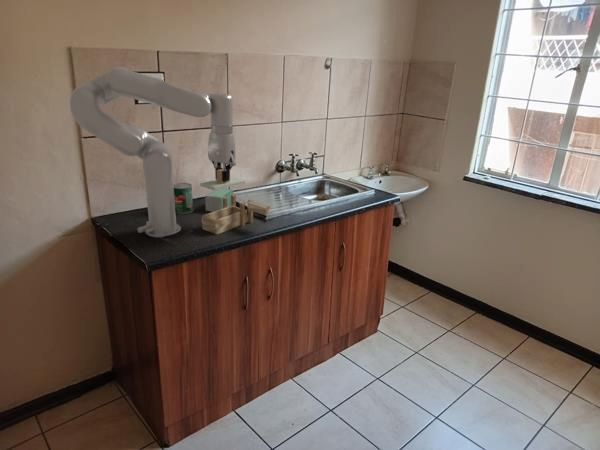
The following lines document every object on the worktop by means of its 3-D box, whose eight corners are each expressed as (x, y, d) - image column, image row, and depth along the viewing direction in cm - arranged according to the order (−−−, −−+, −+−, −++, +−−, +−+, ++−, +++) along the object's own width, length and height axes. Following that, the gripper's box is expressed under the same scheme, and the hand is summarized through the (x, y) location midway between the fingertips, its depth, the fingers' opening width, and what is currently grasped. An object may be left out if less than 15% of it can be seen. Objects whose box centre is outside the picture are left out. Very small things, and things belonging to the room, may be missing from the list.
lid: (214, 190, 158) (214, 175, 156) (200, 185, 162) (199, 171, 160) (245, 183, 170) (245, 169, 168) (231, 179, 174) (231, 165, 172)
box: (234, 204, 198) (233, 188, 195) (221, 214, 186) (221, 197, 183) (218, 203, 200) (218, 187, 197) (205, 212, 187) (204, 195, 185)
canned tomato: (195, 207, 192) (194, 183, 188) (190, 214, 185) (189, 188, 181) (176, 207, 192) (175, 182, 188) (171, 213, 185) (169, 187, 181)
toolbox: (219, 237, 163) (218, 211, 159) (199, 229, 169) (198, 204, 165) (253, 224, 177) (252, 200, 173) (233, 217, 182) (233, 194, 179)
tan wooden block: (265, 215, 165) (265, 207, 164) (247, 209, 170) (247, 202, 169) (270, 213, 167) (270, 206, 166) (251, 208, 172) (251, 200, 171)
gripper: (198, 127, 160) (199, 177, 167) (230, 134, 151) (230, 186, 158) (214, 125, 166) (215, 174, 172) (245, 132, 157) (245, 182, 163)
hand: (222, 179), depth 165 cm, fingers closed on lid, 2 cm apart
